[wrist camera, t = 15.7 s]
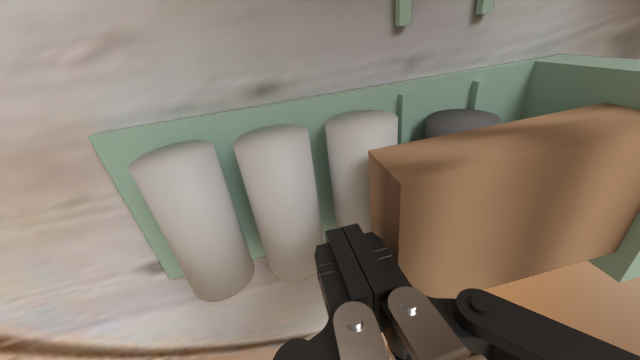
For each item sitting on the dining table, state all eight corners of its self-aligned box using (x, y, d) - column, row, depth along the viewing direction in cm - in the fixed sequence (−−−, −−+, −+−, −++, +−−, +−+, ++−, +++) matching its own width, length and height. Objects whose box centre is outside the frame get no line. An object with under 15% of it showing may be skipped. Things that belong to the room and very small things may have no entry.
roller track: (172, 272, 18) (117, 433, 11) (94, 133, 13) (-101, 256, 6) (521, 189, 22) (658, 270, 14) (561, 54, 17) (803, 70, 9)
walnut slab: (371, 265, 15) (396, 314, 12) (368, 150, 12) (400, 184, 9) (558, 217, 16) (615, 252, 14) (605, 102, 13) (691, 120, 10)
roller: (408, 201, 19) (446, 233, 16) (412, 117, 16) (460, 136, 13) (451, 188, 20) (494, 215, 17) (463, 105, 17) (518, 119, 14)
